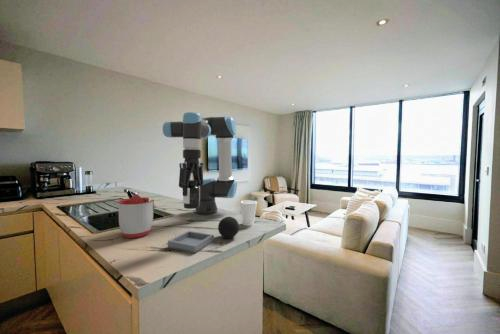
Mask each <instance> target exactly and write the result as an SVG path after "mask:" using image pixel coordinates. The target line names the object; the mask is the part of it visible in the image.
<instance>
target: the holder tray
mask: <svg viewBox="0 0 500 334" xmlns="http://www.w3.org/2000/svg"><path fill="white" fill-rule="evenodd" d="M214 235H215V234H211V233H205V232H201V231H200V232H199V231H194V230H187V231H185V232H183V233H181V234H179V235H177V236H175V237H173V238H171V239H169V240H168V241H167V248H168V249H172V250H176V251H181V252H186V253H191V254H194V255H195V254H197V253H199V252H201V251H202V250H203V249H204V248H206V247H208V246H210V245H211V244H212V243H213V242H214V241H215V236H214Z"/></svg>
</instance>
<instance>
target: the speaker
mask: <svg viewBox="0 0 500 334" xmlns="http://www.w3.org/2000/svg"><path fill="white" fill-rule="evenodd" d="M217 227H218V229H217V230H218V232H219V234H220V236H221V237H222V238H225V239H231V238H234V237H235V236H236V235H237V234H238V233H239V231H240V226H239V221H238V220H237V219H236V218H234V217H232V216H225V217H223V218H222V219H220V221H219V223H218V226H217Z"/></svg>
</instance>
